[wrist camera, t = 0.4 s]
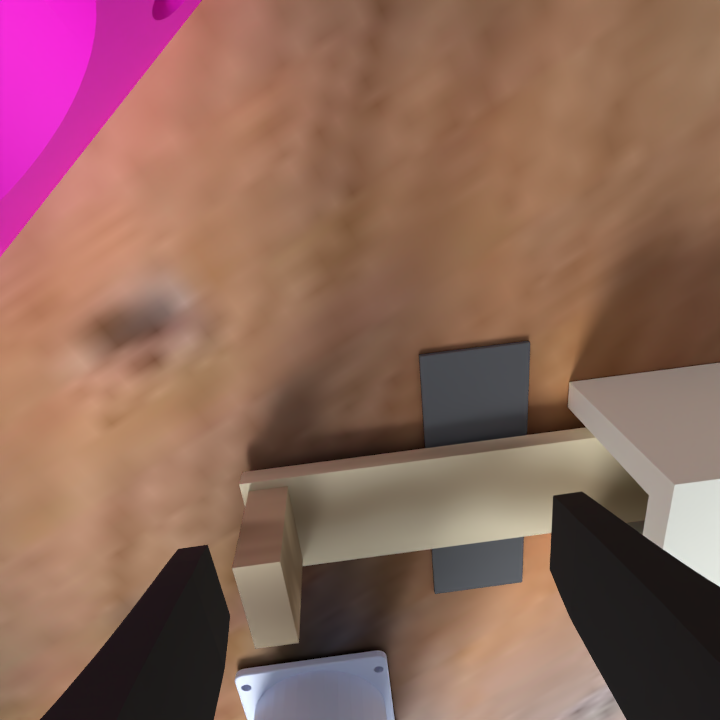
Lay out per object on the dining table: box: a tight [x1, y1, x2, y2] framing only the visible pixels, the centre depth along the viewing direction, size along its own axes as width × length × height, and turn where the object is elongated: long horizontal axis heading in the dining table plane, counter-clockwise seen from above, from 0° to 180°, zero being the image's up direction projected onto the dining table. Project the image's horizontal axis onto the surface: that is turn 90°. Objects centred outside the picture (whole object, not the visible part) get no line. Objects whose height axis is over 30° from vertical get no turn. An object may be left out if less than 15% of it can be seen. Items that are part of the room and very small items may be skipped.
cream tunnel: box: [568, 363, 720, 587], centre depth 20 cm, size 9×8×7 cm
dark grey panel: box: [419, 341, 530, 594], centre depth 22 cm, size 13×4×1 cm, turn 6°
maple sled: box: [232, 427, 649, 649], centre depth 20 cm, size 5×24×5 cm, turn 96°
